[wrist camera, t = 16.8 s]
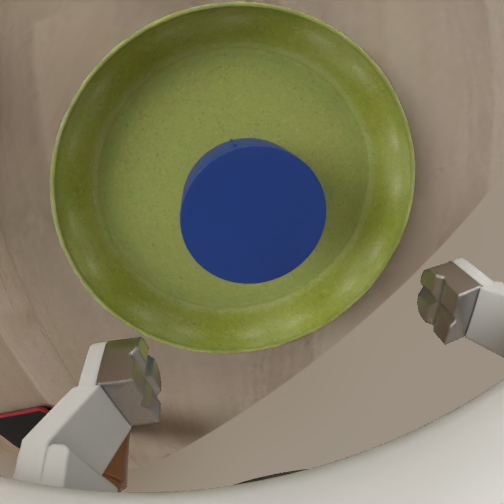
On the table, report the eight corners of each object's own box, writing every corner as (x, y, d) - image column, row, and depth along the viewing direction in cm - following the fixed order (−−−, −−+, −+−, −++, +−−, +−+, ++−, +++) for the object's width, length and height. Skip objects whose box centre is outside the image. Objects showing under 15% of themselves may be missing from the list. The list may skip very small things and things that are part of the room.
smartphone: (-18, 419, 25) (41, 409, 24) (-17, 414, 25) (43, 402, 25) (20, 449, 28) (87, 443, 28) (21, 444, 29) (88, 437, 28)
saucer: (149, 351, 23) (146, 382, 21) (28, 94, 13) (1, 96, 11) (395, 273, 24) (416, 295, 21) (358, -1, 14) (384, -13, 11)
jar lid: (164, 158, 14) (158, 169, 12) (295, 122, 14) (313, 128, 12) (204, 272, 17) (206, 299, 15) (316, 239, 17) (334, 261, 15)
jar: (141, 425, 28) (139, 510, 19) (96, 429, 28) (87, 508, 19) (111, 393, 25) (100, 489, 16) (64, 399, 25) (46, 485, 16)
